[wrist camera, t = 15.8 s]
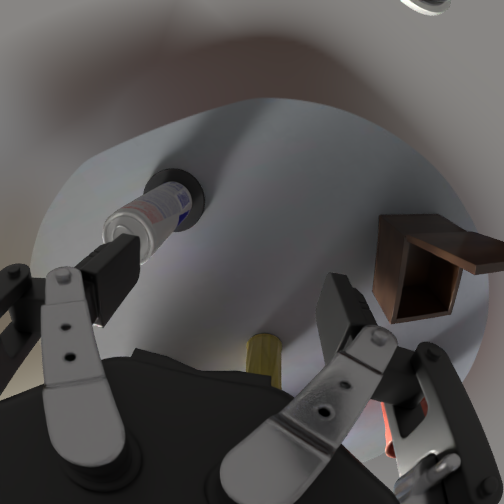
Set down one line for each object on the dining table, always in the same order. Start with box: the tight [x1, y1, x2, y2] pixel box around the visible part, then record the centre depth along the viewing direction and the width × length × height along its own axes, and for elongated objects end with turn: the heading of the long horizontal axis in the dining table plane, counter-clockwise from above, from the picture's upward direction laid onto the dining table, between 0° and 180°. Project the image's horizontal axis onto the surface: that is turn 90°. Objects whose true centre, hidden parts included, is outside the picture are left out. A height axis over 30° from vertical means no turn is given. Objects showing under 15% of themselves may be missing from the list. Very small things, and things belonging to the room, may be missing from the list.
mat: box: [143, 169, 205, 232], centre depth 39 cm, size 9×9×1 cm
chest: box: [372, 214, 467, 324], centre depth 37 cm, size 13×11×9 cm
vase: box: [246, 334, 282, 390], centre depth 42 cm, size 6×6×14 cm
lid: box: [406, 232, 504, 275], centre depth 23 cm, size 13×11×1 cm
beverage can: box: [103, 182, 192, 265], centre depth 32 cm, size 6×6×15 cm
